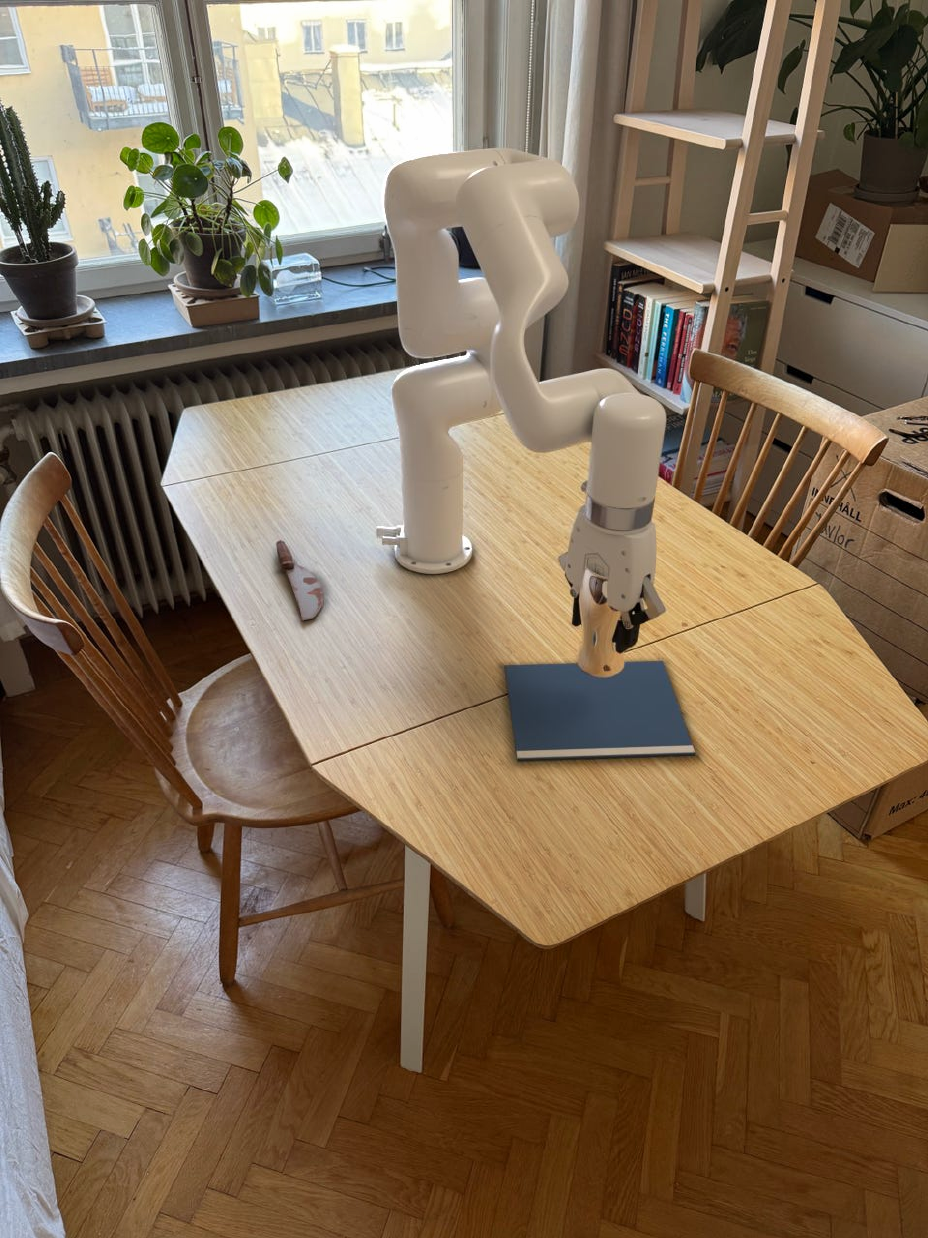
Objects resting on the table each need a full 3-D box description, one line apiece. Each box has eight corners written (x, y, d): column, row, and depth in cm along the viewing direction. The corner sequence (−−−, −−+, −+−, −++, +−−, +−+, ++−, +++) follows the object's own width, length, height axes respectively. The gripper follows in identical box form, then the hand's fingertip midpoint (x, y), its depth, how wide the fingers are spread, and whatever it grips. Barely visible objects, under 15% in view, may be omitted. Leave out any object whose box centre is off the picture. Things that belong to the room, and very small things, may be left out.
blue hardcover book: (517, 761, 112) (517, 759, 112) (504, 667, 127) (504, 664, 127) (695, 755, 113) (695, 753, 113) (662, 662, 128) (663, 660, 128)
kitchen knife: (333, 613, 136) (299, 616, 134) (332, 622, 137) (299, 625, 135) (305, 536, 151) (274, 538, 149) (304, 545, 152) (274, 547, 150)
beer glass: (568, 646, 118) (577, 547, 109) (621, 644, 119) (635, 545, 110) (577, 682, 112) (588, 580, 103) (634, 679, 113) (649, 578, 104)
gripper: (539, 489, 105) (531, 615, 116) (659, 550, 95) (638, 682, 106) (583, 468, 109) (572, 592, 120) (703, 525, 99) (679, 655, 110)
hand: (603, 633), depth 113 cm, fingers closed on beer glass, 6 cm apart
